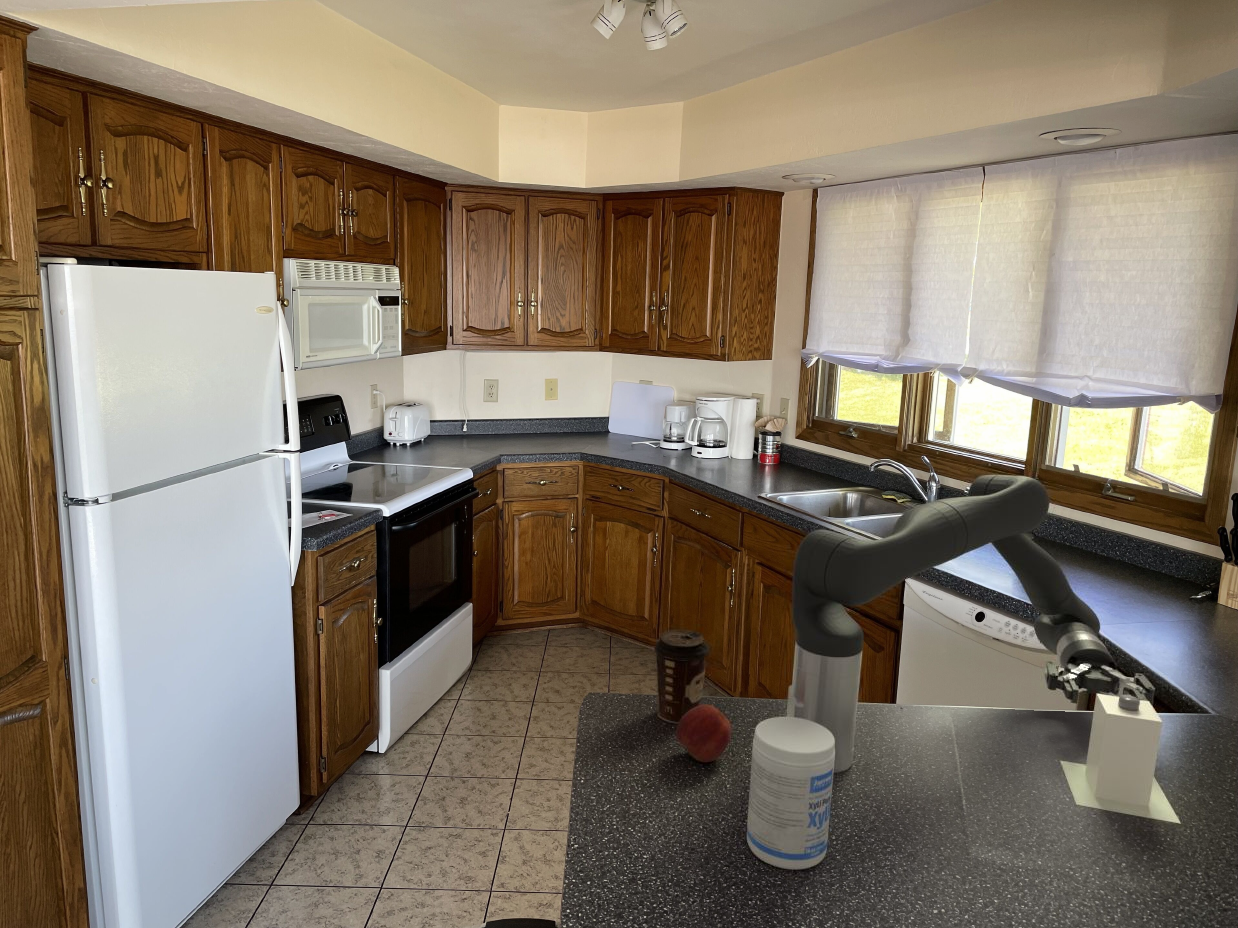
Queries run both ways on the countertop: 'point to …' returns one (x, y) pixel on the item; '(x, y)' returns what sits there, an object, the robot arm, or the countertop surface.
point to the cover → (1123, 749)
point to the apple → (704, 732)
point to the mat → (1085, 797)
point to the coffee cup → (679, 672)
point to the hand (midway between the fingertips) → (1108, 702)
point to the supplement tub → (790, 792)
